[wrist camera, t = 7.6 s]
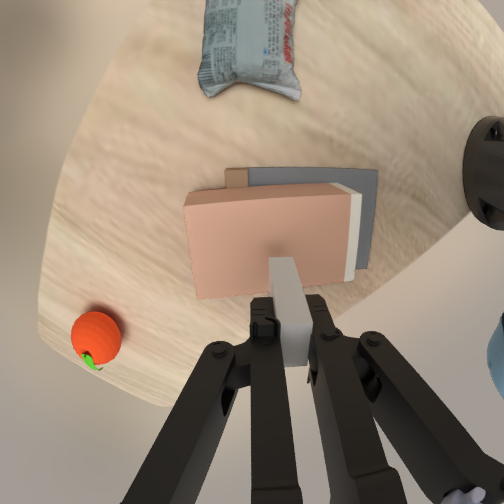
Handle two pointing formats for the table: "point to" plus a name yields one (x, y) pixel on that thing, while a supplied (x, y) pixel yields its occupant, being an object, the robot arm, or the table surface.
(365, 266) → the mat
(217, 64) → the packaged food
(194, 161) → the table surface
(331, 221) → the terracotta block
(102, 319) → the clementine
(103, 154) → the table surface
